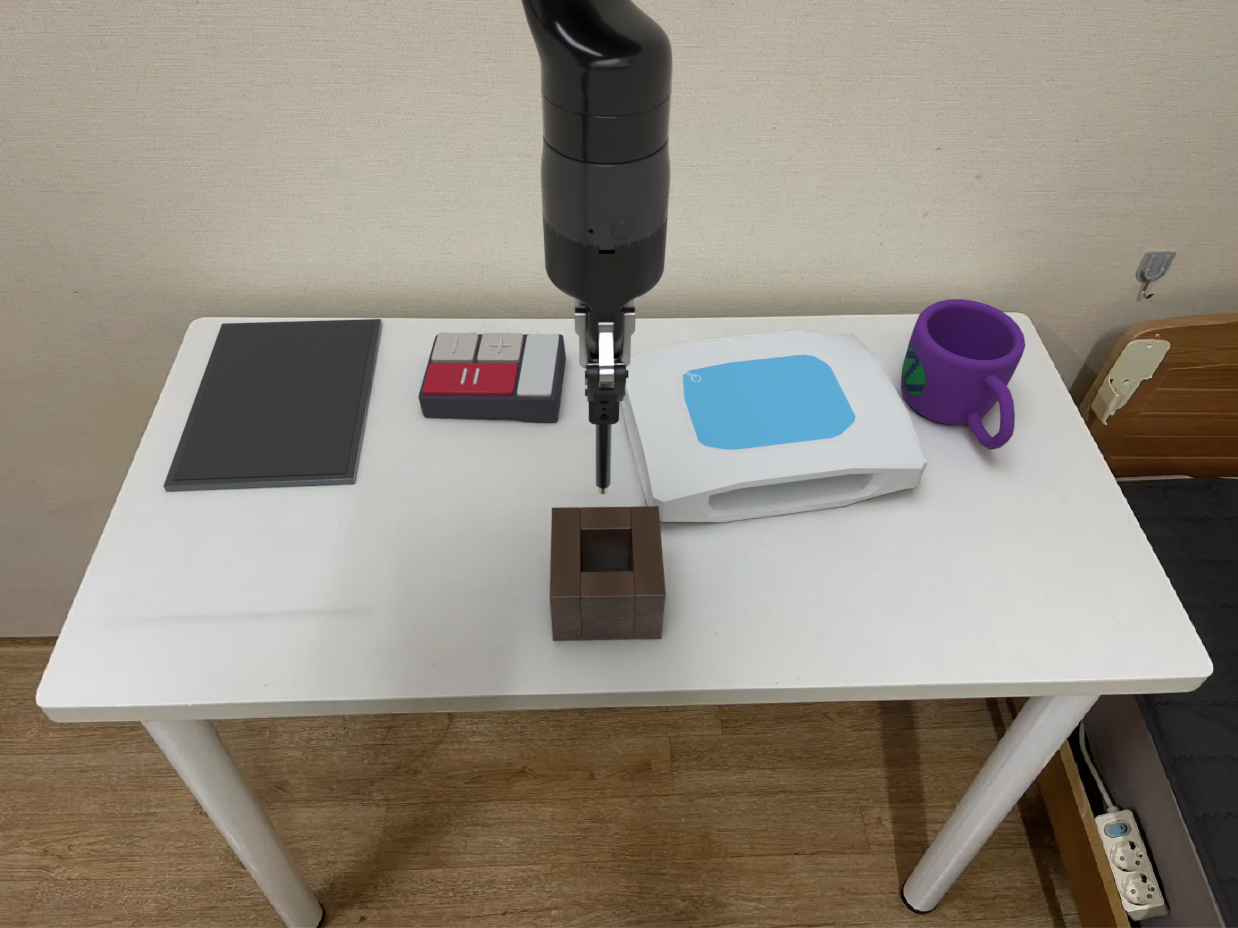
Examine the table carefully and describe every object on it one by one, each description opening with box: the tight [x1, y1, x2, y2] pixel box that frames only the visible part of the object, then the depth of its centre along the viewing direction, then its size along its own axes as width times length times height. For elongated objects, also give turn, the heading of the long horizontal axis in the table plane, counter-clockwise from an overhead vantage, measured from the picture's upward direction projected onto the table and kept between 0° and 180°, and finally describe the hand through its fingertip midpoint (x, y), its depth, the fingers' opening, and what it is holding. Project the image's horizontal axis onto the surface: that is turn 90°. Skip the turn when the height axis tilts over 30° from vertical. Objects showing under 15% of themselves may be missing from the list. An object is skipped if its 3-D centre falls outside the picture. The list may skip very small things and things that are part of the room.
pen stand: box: [549, 505, 667, 642], centre depth 81 cm, size 10×10×7 cm
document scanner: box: [620, 329, 928, 523], centre depth 95 cm, size 21×28×6 cm
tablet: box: [163, 318, 383, 492], centre depth 99 cm, size 26×19×1 cm
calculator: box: [417, 332, 567, 423], centre depth 100 cm, size 11×4×15 cm
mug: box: [900, 298, 1026, 451], centre depth 96 cm, size 17×11×10 cm, turn 11°
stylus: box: [595, 424, 613, 495], centre depth 67 cm, size 1×1×14 cm
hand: (603, 412), depth 66 cm, fingers closed on stylus, 1 cm apart
